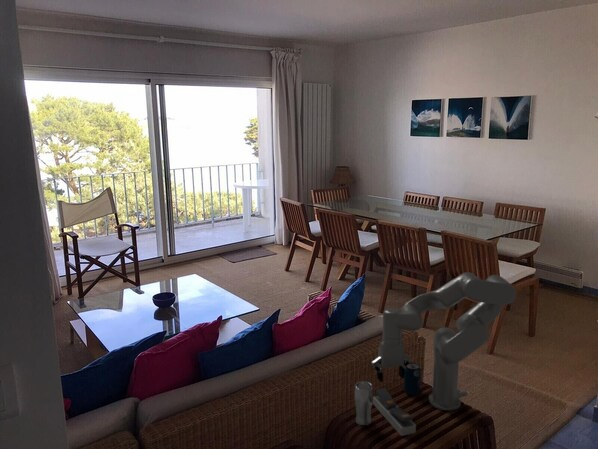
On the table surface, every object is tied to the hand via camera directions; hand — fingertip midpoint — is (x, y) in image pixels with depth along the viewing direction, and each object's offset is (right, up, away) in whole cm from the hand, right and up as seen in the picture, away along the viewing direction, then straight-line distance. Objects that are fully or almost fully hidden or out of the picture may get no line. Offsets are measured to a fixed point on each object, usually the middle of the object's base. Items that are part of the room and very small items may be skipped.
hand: (390, 378), depth 196 cm
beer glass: (-13, -13, -11) cm, 21 cm away
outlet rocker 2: (+1, -9, -15) cm, 18 cm away
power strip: (-1, -12, -9) cm, 15 cm away
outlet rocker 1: (-3, -7, -4) cm, 8 cm away
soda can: (+11, -9, +10) cm, 17 cm away
